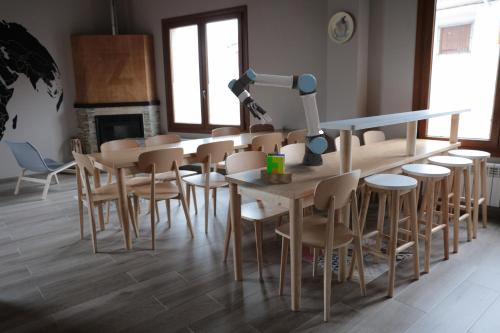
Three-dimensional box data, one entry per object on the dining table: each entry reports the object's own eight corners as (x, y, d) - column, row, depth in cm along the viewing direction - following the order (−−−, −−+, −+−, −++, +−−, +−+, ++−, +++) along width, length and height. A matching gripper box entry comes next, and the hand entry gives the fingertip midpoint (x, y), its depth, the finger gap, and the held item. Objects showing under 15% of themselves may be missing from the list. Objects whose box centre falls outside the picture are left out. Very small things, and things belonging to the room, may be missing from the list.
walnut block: (283, 177, 249) (283, 168, 248) (291, 183, 235) (291, 173, 234) (260, 178, 246) (260, 169, 245) (267, 184, 232) (267, 174, 230)
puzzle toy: (284, 170, 243) (284, 154, 241) (283, 173, 233) (283, 157, 231) (268, 169, 244) (268, 153, 242) (266, 173, 234) (266, 156, 232)
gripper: (249, 102, 274) (269, 124, 272) (235, 103, 252) (257, 128, 250) (256, 94, 272) (277, 116, 270) (243, 95, 249) (265, 120, 247)
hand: (267, 122), depth 260 cm, fingers open, 13 cm apart
